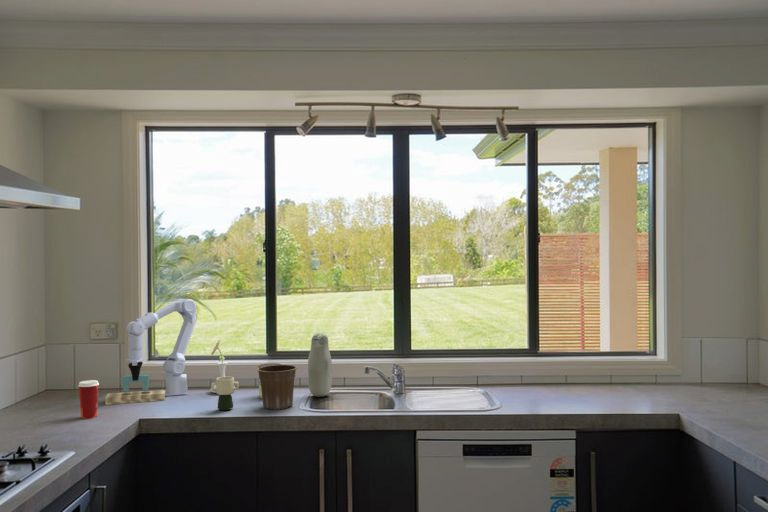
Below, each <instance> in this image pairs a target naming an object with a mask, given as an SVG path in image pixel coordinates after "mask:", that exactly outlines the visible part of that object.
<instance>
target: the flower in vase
mask: <svg viewBox="0 0 768 512" xmlns="http://www.w3.org/2000/svg"><path fill="white" fill-rule="evenodd" d="M220 343H221V339H218V340H217V342H216V344H215V346H214V348H213V349H212V351H211V356H213V355H214V354H215V353H216V351H217V350H218V351H219V353H220V355H219V360H218V362H216V364H217V366H218V368H219V377H226V367H227V365H228V363H229V362H228V361H224V360H225V359H226V357H224V355H223V354H222V352H221V349H220V347H219V345H220ZM235 387H236V385H234V388H235ZM214 389H216V385H214ZM209 391H210V392H212V393H214V394H217V392H216V391H212V390H211V387H210V389H209Z"/></svg>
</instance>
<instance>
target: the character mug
mask: <svg viewBox="0 0 768 512" xmlns="http://www.w3.org/2000/svg"><path fill="white" fill-rule="evenodd" d="M239 383H240V382H239V381H235V378H234V377H233V376H225V377H220V376H219V377H217V378H216V379H215V382H212V383H211V387H210V388H211V390H212V391H216V392H217V393H216V394H217V395H219V396H218V398H217V399H218V400H217V409H218V410H221V411H228V410H230V409H233V408H234V402H233V395H232V394H234V392H235V391H237V390H239V387H240V385H239ZM214 385H216V389H214ZM234 386H235V388H234Z"/></svg>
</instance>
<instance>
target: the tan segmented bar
mask: <svg viewBox="0 0 768 512" xmlns="http://www.w3.org/2000/svg"><path fill="white" fill-rule="evenodd" d="M165 392H166V389H155V390H154V389H153V390H152V389H151V390H140V391H127V392H112V393H111V392H110V393H107V394H106V396H105V397H104V398H105V405H106V406H108V405H120V404H131V403H132V404H133V403H143V402H144V403H145V402H159V401H165V400H166V398H165V397H166V396H165Z"/></svg>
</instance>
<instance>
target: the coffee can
mask: <svg viewBox="0 0 768 512" xmlns="http://www.w3.org/2000/svg"><path fill="white" fill-rule="evenodd" d="M271 365H282V363H275V362H273V363H271V362H270V363H262V364H259V365H258V366H257V367H258V368H260V367H264V366H271ZM258 393H259V394H258V398H259V399H262V390H261V382H260V379H259V378H258Z"/></svg>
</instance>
